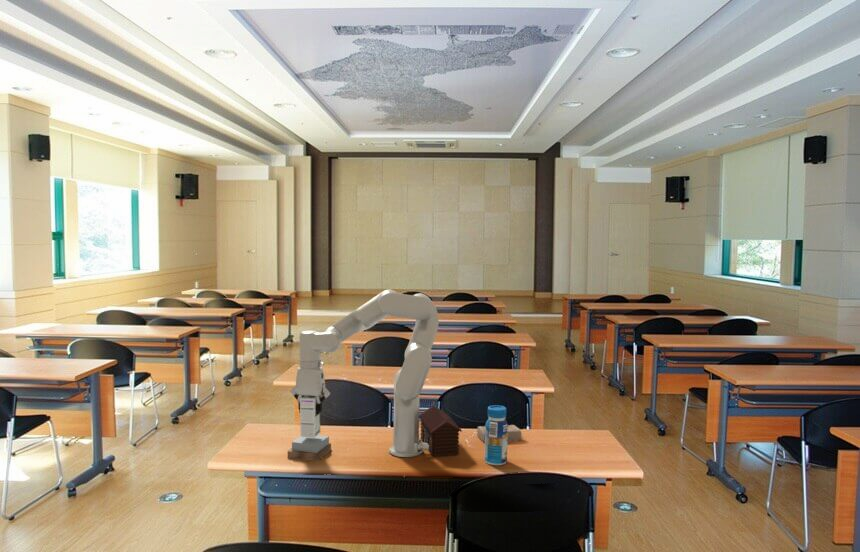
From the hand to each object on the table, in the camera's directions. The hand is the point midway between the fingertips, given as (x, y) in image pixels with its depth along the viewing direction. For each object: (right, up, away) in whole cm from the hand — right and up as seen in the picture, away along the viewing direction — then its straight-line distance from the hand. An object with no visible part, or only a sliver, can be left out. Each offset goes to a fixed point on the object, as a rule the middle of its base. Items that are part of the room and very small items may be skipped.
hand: (310, 412), depth 227 cm
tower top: (0, -13, +1) cm, 13 cm away
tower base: (0, -16, +1) cm, 16 cm away
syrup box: (0, -9, +1) cm, 9 cm away
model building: (+48, -16, +10) cm, 51 cm away
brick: (+72, -16, +21) cm, 77 cm away
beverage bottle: (+68, -17, -4) cm, 70 cm away
